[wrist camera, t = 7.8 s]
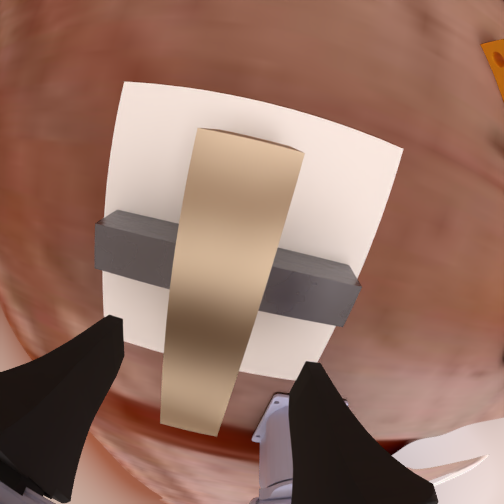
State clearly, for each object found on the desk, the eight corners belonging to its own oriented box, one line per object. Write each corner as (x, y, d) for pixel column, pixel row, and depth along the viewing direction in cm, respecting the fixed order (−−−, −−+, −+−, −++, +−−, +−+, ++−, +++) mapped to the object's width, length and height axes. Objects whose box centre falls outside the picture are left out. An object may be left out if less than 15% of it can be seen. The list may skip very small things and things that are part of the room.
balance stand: (305, 374, 25) (310, 408, 21) (109, 328, 23) (91, 356, 20) (396, 147, 17) (426, 153, 13) (130, 83, 16) (101, 75, 12)
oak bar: (224, 380, 20) (216, 436, 15) (177, 368, 19) (160, 423, 15) (290, 146, 13) (305, 153, 9) (219, 129, 13) (197, 128, 9)
